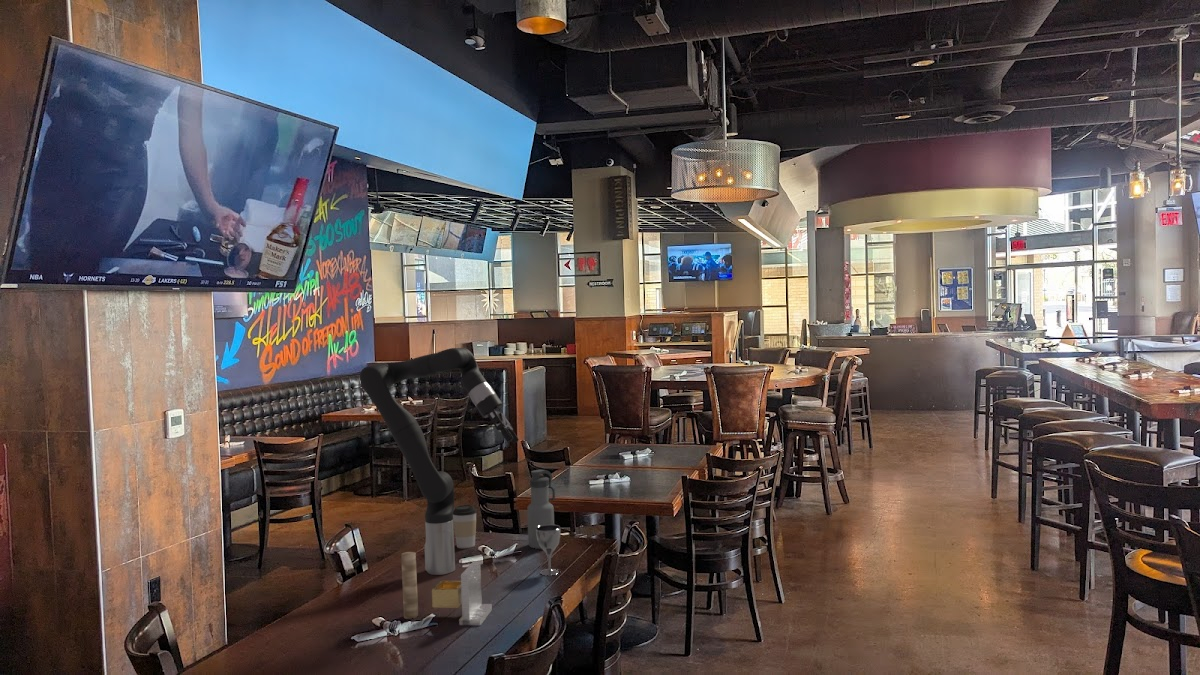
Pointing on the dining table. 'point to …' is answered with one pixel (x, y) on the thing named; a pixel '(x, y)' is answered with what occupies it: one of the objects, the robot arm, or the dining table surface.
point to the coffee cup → (465, 525)
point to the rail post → (409, 585)
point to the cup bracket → (463, 596)
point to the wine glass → (548, 544)
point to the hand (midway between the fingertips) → (513, 441)
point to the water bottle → (539, 504)
